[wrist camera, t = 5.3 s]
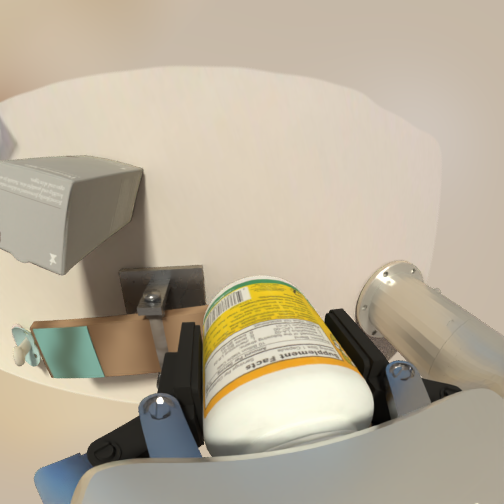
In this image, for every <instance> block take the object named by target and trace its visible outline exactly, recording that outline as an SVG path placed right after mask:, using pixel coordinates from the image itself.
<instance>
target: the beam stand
mask: <svg viewBox="0 0 504 504" xmlns="http://www.w3.org/2000/svg"><path fill="white" fill-rule="evenodd" d="M119 276H120V281H121V287H122V292H123V297H124V301H125V306H126V311H127V315H128V314H138V316H142V315H163V311H164V310H173V309H181V308H188V307H196V306H203V305H206V303H205V292H204V280H203V268H202V265H191V266H173V267H153V268H133V269H121V270H120V271H119ZM160 376H161V375H160V373H159V375H158V380H157V388H158V387H159V381H160Z"/></svg>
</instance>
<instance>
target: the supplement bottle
mask: <svg viewBox="0 0 504 504" xmlns="http://www.w3.org/2000/svg"><path fill="white" fill-rule="evenodd" d="M202 380H203V434H204V441H205V444H206V447H207V449H208V451H209V453H210V455H211V456H212V457H220V456H234V455H245V454H254V453H262V452H269V451H276V450H282V449H288V448H293V447H299V446H304V445H308V444H313V443H317V442H321V441H326V440H329V439H333V438H337V437H341V436H344V435H348V434H351V433H354V432H358V431H361V430H364V429H367V428H369V426H370V424H371V421H372V417H373V412H374V401H373V396H372V393H371V390H370V388H369V386H368V384H367V383H366V381H365V379H364V378H363V376H362V375H361V374H360V372H359V371H358V369H357V367H356V366H355V365H354V363H353V362H352V361H351V359H350V358H349V356H348V355H347V354H346V352H345V351H344V350H343V348H342V347H341V345H340V344H339V343H338V341H337V340H336V338H335V337H334V336H333V334H332V333H331V331H330V330H329V329H328V327H327V326H326V325H325V323H324V322H323V320H322V319H321V318H320V316H319V315H318V314H317V312H316V311H315V309H314V308H313V306H312V305H311V304H310V303H309V301H308V300H307V299H306V298H305V296H304V295H303V294H302V293H301V291H300V290H299V289H298V288H297V287H296V286H294V285H293V284H292V283H290V282H288V281H286V280H284V279H281V278H278V277H273V276H251V277H246V278H243V279H240V280H238V281H235V282H233V283H231V284H230V285H228V286H226V287H225V288H224V289H222V290H221V291H220V292H219V293H218V294H217V295H216V296H215V297H214V298H213V299H212V301H211V302H210V304H209V306H208V308H207V310H206V313H205V315H204V320H203V353H202Z"/></svg>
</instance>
